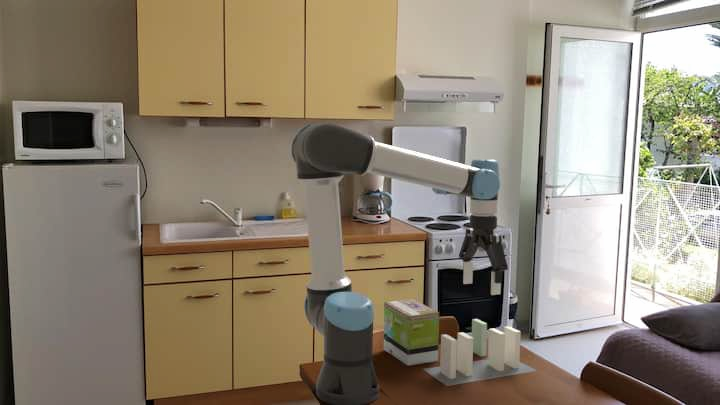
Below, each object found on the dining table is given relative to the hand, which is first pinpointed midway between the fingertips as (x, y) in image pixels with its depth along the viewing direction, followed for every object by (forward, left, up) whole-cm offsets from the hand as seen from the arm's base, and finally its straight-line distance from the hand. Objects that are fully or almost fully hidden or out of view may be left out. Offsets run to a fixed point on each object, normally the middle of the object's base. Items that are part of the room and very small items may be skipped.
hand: (481, 288), depth 170 cm
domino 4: (+3, -11, -19) cm, 22 cm away
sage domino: (0, 0, -20) cm, 20 cm away
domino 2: (-12, -11, -19) cm, 25 cm away
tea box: (-19, +6, -20) cm, 28 cm away
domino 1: (-17, -11, -19) cm, 28 cm away
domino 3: (-2, -11, -19) cm, 22 cm away
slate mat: (-7, -11, -19) cm, 23 cm away
